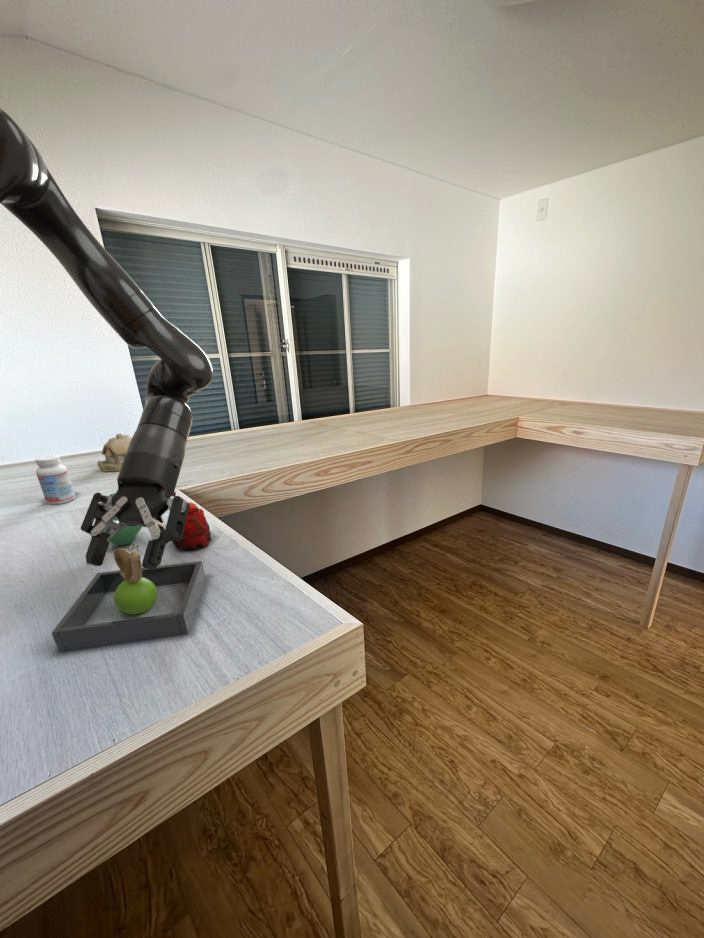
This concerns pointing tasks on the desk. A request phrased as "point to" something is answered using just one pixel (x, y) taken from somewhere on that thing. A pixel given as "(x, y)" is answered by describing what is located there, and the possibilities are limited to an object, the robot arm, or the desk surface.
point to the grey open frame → (82, 636)
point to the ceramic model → (114, 453)
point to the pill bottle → (54, 480)
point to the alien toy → (125, 533)
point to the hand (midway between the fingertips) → (120, 566)
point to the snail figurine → (133, 584)
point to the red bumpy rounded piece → (194, 530)
